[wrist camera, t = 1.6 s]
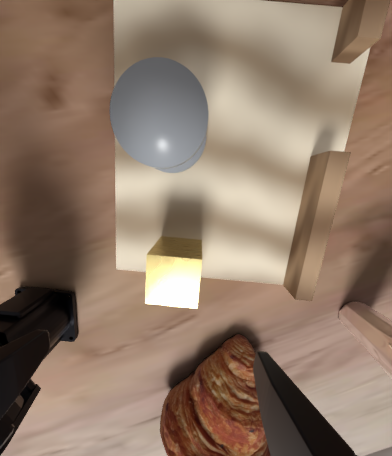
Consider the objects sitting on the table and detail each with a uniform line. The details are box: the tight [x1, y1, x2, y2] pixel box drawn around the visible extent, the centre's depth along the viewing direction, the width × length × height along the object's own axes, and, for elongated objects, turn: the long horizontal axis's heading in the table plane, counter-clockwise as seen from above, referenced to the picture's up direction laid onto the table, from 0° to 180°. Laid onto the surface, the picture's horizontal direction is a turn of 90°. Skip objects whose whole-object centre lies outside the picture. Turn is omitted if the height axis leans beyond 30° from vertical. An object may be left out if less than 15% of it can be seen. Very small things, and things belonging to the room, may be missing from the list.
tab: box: [145, 236, 202, 308], centre depth 16 cm, size 4×4×5 cm
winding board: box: [114, 0, 390, 301], centre depth 16 cm, size 23×20×4 cm
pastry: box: [160, 334, 271, 456], centre depth 20 cm, size 17×15×8 cm
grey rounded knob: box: [110, 57, 208, 173], centre depth 13 cm, size 6×6×5 cm
